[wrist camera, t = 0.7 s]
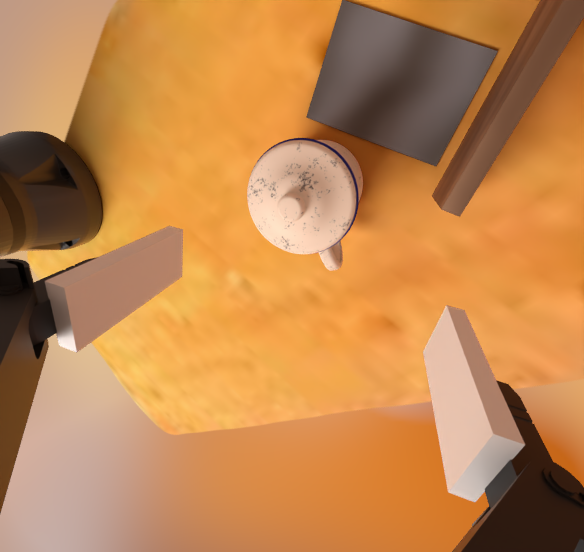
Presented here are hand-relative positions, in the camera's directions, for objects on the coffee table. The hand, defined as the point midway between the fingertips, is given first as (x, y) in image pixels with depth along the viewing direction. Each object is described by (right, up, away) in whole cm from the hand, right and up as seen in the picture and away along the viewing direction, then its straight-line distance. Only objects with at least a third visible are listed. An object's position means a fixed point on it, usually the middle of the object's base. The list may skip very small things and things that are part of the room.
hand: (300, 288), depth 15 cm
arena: (+10, +18, +11) cm, 23 cm away
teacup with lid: (+3, +9, +17) cm, 20 cm away
